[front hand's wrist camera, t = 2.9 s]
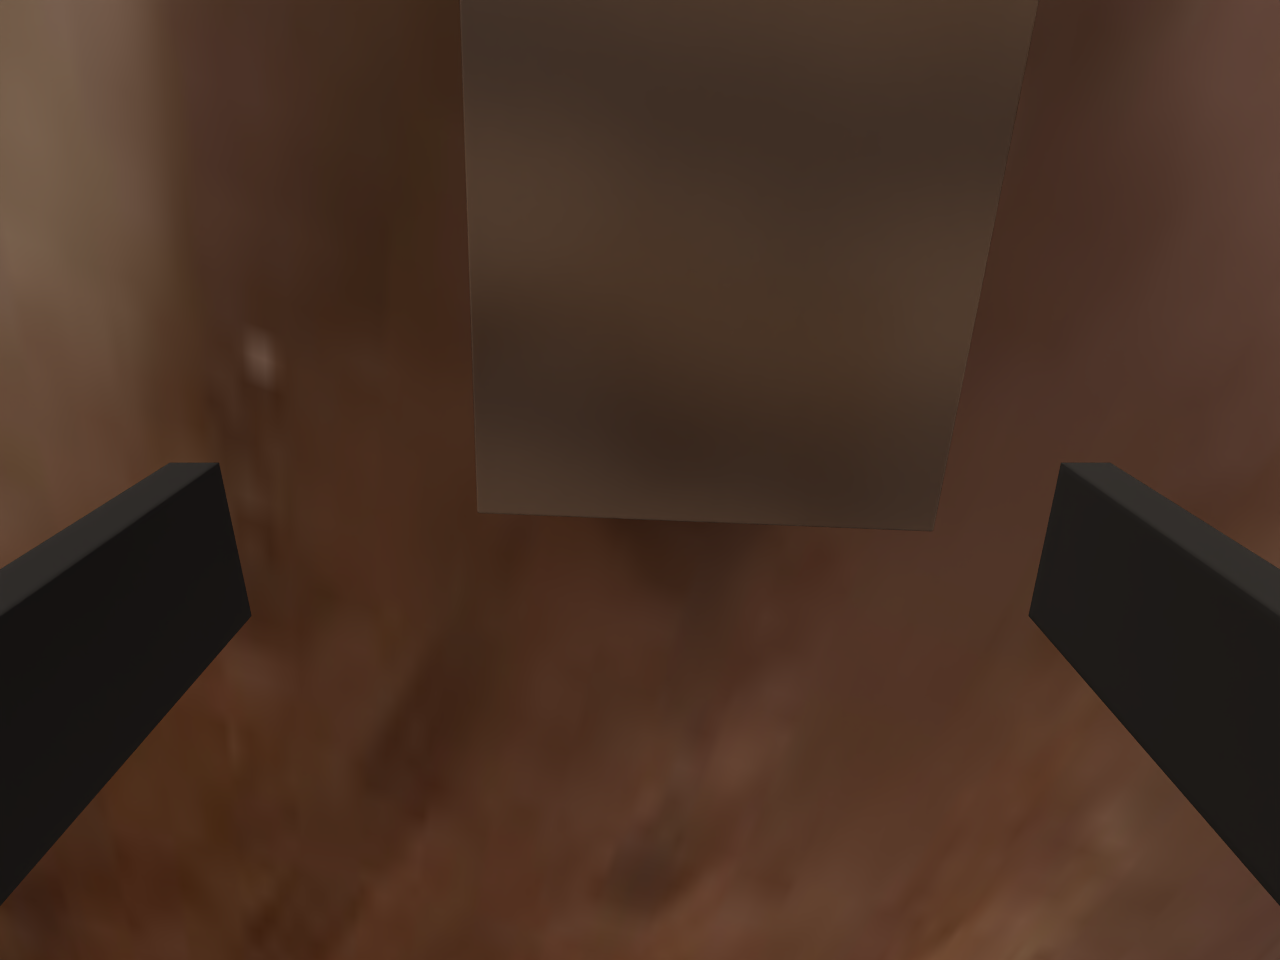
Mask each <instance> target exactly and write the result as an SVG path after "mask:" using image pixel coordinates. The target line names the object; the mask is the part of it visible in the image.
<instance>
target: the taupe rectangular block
mask: <svg viewBox="0 0 1280 960" xmlns="http://www.w3.org/2000/svg"><path fill="white" fill-rule="evenodd" d="M459 1H460V30H461V58H462V87H463V116H464V145H465V173H466V202H467V231H468V259H469V288H470V317H471V346H472V374H473V403H474V432H475V461H476V489H477V511H478V513H492V514H517V515H542V516H566V517H591V518H616V519H641V520H665V521H690V522H715V523H740V524H764V525H789V526H814V527H839V528H863V529H888V530H913V531H933V529H934V524H935V519H936V514H937V509H938V504H939V499H940V494H941V489H942V484H943V479H944V474H945V469H946V464H947V459H948V453H949V448H950V443H951V438H952V433H953V428H954V423H955V418H956V413H957V408H958V403H959V398H960V393H961V388H962V383H963V378H964V373H965V368H966V363H967V358H968V353H969V348H970V343H971V338H972V333H973V328H974V323H975V318H976V313H977V308H978V303H979V298H980V293H981V288H982V283H983V278H984V273H985V268H986V263H987V258H988V253H989V248H990V243H991V238H992V233H993V228H994V223H995V218H996V213H997V208H998V203H999V198H1000V193H1001V188H1002V183H1003V178H1004V173H1005V168H1006V163H1007V158H1008V153H1009V148H1010V143H1011V138H1012V133H1013V128H1014V123H1015V118H1016V113H1017V108H1018V103H1019V98H1020V93H1021V88H1022V83H1023V78H1024V73H1025V68H1026V63H1027V58H1028V53H1029V48H1030V43H1031V38H1032V33H1033V28H1034V23H1035V18H1036V13H1037V8H1038V3H1039V0H459Z"/></svg>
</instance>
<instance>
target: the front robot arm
mask: <svg viewBox="0 0 1280 960" xmlns="http://www.w3.org/2000/svg"><path fill="white" fill-rule="evenodd" d="M250 617H251V611H250V607H249V602H248V597H247V593H246V588H245V583H244V579H243V574H242V569H241V564H240V560H239V555H238V550H237V546H236V541H235V536H234V532H233V527H232V522H231V517H230V513H229V508H228V503H227V499H226V494H225V489H224V485H223V480H222V475H221V470H220V466H219V463H169V464H167V465H165V466H164V467H162V468H161V469H159V470H158V471H156V472H154V473H153V474H151V475H150V476H148V477H146V478H145V479H143V480H142V481H140V482H138V483H137V484H135V485H134V486H132V487H130V488H129V489H127V490H126V491H124V492H123V493H121V494H119V495H118V496H116V497H115V498H113V499H111V500H110V501H108V502H107V503H105V504H103V505H102V506H100V507H99V508H97V509H95V510H94V511H92V512H91V513H89V514H88V515H86V516H84V517H83V518H81V519H80V520H78V521H76V522H75V523H73V524H72V525H70V526H68V527H67V528H65V529H64V530H62V531H61V532H59V533H57V534H56V535H54V536H53V537H51V538H49V539H48V540H46V541H45V542H43V543H41V544H40V545H38V546H37V547H35V548H33V549H32V550H30V551H29V552H27V553H26V554H24V555H22V556H21V557H19V558H18V559H16V560H14V561H13V562H11V563H10V564H8V565H6V566H5V567H3V568H2V569H0V905H1V904H2V903H3V902H4V901H5V900H6V899H7V897H8V896H9V895H10V894H11V893H12V892H13V890H14V889H15V888H16V887H17V886H18V885H19V884H20V882H21V881H22V880H23V879H24V878H25V877H26V875H27V874H28V873H29V872H30V871H31V870H32V869H33V867H34V866H35V865H36V864H37V863H38V862H39V860H40V859H41V858H42V857H43V856H44V855H45V854H46V852H47V851H48V850H49V849H50V848H51V847H52V845H53V844H54V843H55V842H56V841H57V840H58V838H59V837H60V836H61V835H62V834H63V833H64V832H65V830H66V829H67V828H68V827H69V826H70V825H71V823H72V822H73V821H74V820H75V819H76V818H77V817H78V815H79V814H80V813H81V812H82V811H83V810H84V808H85V807H86V806H87V805H88V804H89V803H90V802H91V800H92V799H93V798H94V797H95V796H96V795H97V793H98V792H99V791H100V790H101V789H102V788H103V787H104V785H105V784H106V783H107V782H108V781H109V780H110V778H111V777H112V776H113V775H114V774H115V773H116V772H117V770H118V769H119V768H120V767H121V766H122V765H123V763H124V762H125V761H126V760H127V759H128V758H129V757H130V755H131V754H132V753H133V752H134V751H135V750H136V748H137V747H138V746H139V745H140V744H141V743H142V742H143V740H144V739H145V738H146V737H147V736H148V735H149V733H150V732H151V731H152V730H153V729H154V728H155V727H156V725H157V724H158V723H159V722H160V721H161V720H162V718H163V717H164V716H165V715H166V714H167V713H168V712H169V710H170V709H171V708H172V707H173V706H174V705H175V703H176V702H177V701H178V700H179V699H180V698H181V696H182V695H183V694H184V693H185V692H186V691H187V690H188V688H189V687H190V686H191V685H192V684H193V683H194V681H195V680H196V679H197V678H198V677H199V676H200V675H201V673H202V672H203V671H204V670H205V669H206V668H207V666H208V665H209V664H210V663H211V662H212V661H213V660H214V658H215V657H216V656H217V655H218V654H219V653H220V651H221V650H222V649H223V648H224V647H225V646H226V645H227V643H228V642H229V641H230V640H231V639H232V638H233V636H234V635H235V634H236V633H237V632H238V631H239V630H240V628H241V627H242V626H243V625H244V624H245V623H246V621H247V620H248V619H249V618H250ZM1029 617H1030V618H1031V619H1032V620H1033V621H1034V623H1035V624H1036V625H1037V626H1038V627H1039V628H1040V630H1041V631H1042V632H1043V633H1044V634H1045V635H1046V636H1047V638H1048V639H1049V640H1050V641H1051V642H1052V643H1053V645H1054V646H1055V647H1056V648H1057V649H1058V650H1059V651H1060V653H1061V654H1062V655H1063V656H1064V657H1065V658H1066V660H1067V661H1068V662H1069V663H1070V664H1071V665H1072V666H1073V668H1074V669H1075V670H1076V671H1077V672H1078V673H1079V675H1080V676H1081V677H1082V678H1083V679H1084V680H1085V681H1086V683H1087V684H1088V685H1089V686H1090V687H1091V688H1092V690H1093V691H1094V692H1095V693H1096V694H1097V695H1098V696H1099V698H1100V699H1101V700H1102V701H1103V702H1104V703H1105V705H1106V706H1107V707H1108V708H1109V709H1110V710H1111V712H1112V713H1113V714H1114V715H1115V716H1116V717H1117V718H1118V720H1119V721H1120V722H1121V723H1122V724H1123V725H1124V727H1125V728H1126V729H1127V730H1128V731H1129V732H1130V733H1131V735H1132V736H1133V737H1134V738H1135V739H1136V740H1137V742H1138V743H1139V744H1140V745H1141V746H1142V747H1143V748H1144V750H1145V751H1146V752H1147V753H1148V754H1149V755H1150V757H1151V758H1152V759H1153V760H1154V761H1155V762H1156V763H1157V765H1158V766H1159V767H1160V768H1161V769H1162V770H1163V772H1164V773H1165V774H1166V775H1167V776H1168V777H1169V778H1170V780H1171V781H1172V782H1173V783H1174V784H1175V785H1176V787H1177V788H1178V789H1179V790H1180V791H1181V792H1182V793H1183V795H1184V796H1185V797H1186V798H1187V799H1188V800H1189V802H1190V803H1191V804H1192V805H1193V806H1194V807H1195V808H1196V810H1197V811H1198V812H1199V813H1200V814H1201V815H1202V817H1203V818H1204V819H1205V820H1206V821H1207V822H1208V823H1209V825H1210V826H1211V827H1212V828H1213V829H1214V830H1215V832H1216V833H1217V834H1218V835H1219V836H1220V837H1221V838H1222V840H1223V841H1224V842H1225V843H1226V844H1227V845H1228V847H1229V848H1230V849H1231V850H1232V851H1233V852H1234V854H1235V855H1236V856H1237V857H1238V858H1239V859H1240V860H1241V862H1242V863H1243V864H1244V865H1245V866H1246V867H1247V869H1248V870H1249V871H1250V872H1251V873H1252V874H1253V875H1254V877H1255V878H1256V879H1257V880H1258V881H1259V882H1260V884H1261V885H1262V886H1263V887H1264V888H1265V889H1266V890H1267V892H1268V893H1269V894H1270V895H1271V896H1272V897H1273V899H1274V900H1275V901H1276V902H1277V903H1278V904H1279V905H1280V569H1278V568H1277V567H1275V566H1274V565H1272V564H1270V563H1269V562H1267V561H1266V560H1264V559H1262V558H1261V557H1259V556H1258V555H1256V554H1254V553H1253V552H1251V551H1250V550H1248V549H1247V548H1245V547H1243V546H1242V545H1240V544H1239V543H1237V542H1235V541H1234V540H1232V539H1231V538H1229V537H1227V536H1226V535H1224V534H1223V533H1221V532H1219V531H1218V530H1216V529H1215V528H1213V527H1212V526H1210V525H1208V524H1207V523H1205V522H1204V521H1202V520H1200V519H1199V518H1197V517H1196V516H1194V515H1192V514H1191V513H1189V512H1188V511H1186V510H1185V509H1183V508H1181V507H1180V506H1178V505H1177V504H1175V503H1173V502H1172V501H1170V500H1169V499H1167V498H1165V497H1164V496H1162V495H1161V494H1159V493H1157V492H1156V491H1154V490H1153V489H1151V488H1150V487H1148V486H1146V485H1145V484H1143V483H1142V482H1140V481H1138V480H1137V479H1135V478H1134V477H1132V476H1130V475H1129V474H1127V473H1126V472H1124V471H1122V470H1121V469H1119V468H1118V467H1116V466H1115V465H1113V464H1111V463H1061V466H1060V470H1059V475H1058V480H1057V485H1056V489H1055V494H1054V499H1053V503H1052V508H1051V513H1050V517H1049V522H1048V527H1047V532H1046V536H1045V541H1044V546H1043V550H1042V555H1041V560H1040V564H1039V569H1038V574H1037V579H1036V583H1035V588H1034V593H1033V597H1032V602H1031V607H1030V611H1029Z"/></svg>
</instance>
